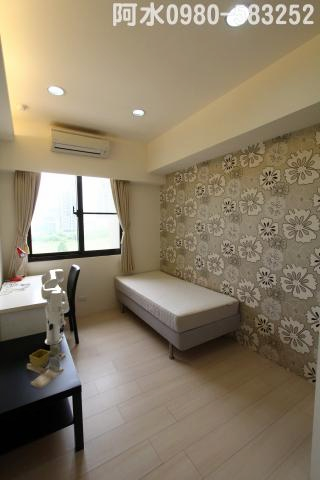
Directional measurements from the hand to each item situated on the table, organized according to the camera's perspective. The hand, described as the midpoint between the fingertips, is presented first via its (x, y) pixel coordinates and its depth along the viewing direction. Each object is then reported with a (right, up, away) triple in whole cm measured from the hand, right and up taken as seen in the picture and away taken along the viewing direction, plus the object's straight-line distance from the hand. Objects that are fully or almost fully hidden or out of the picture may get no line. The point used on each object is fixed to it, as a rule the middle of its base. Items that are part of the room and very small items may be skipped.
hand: (56, 331), depth 159 cm
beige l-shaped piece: (+5, -20, -21) cm, 30 cm away
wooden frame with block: (-3, -19, -7) cm, 20 cm away
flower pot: (-6, -19, -11) cm, 23 cm away
